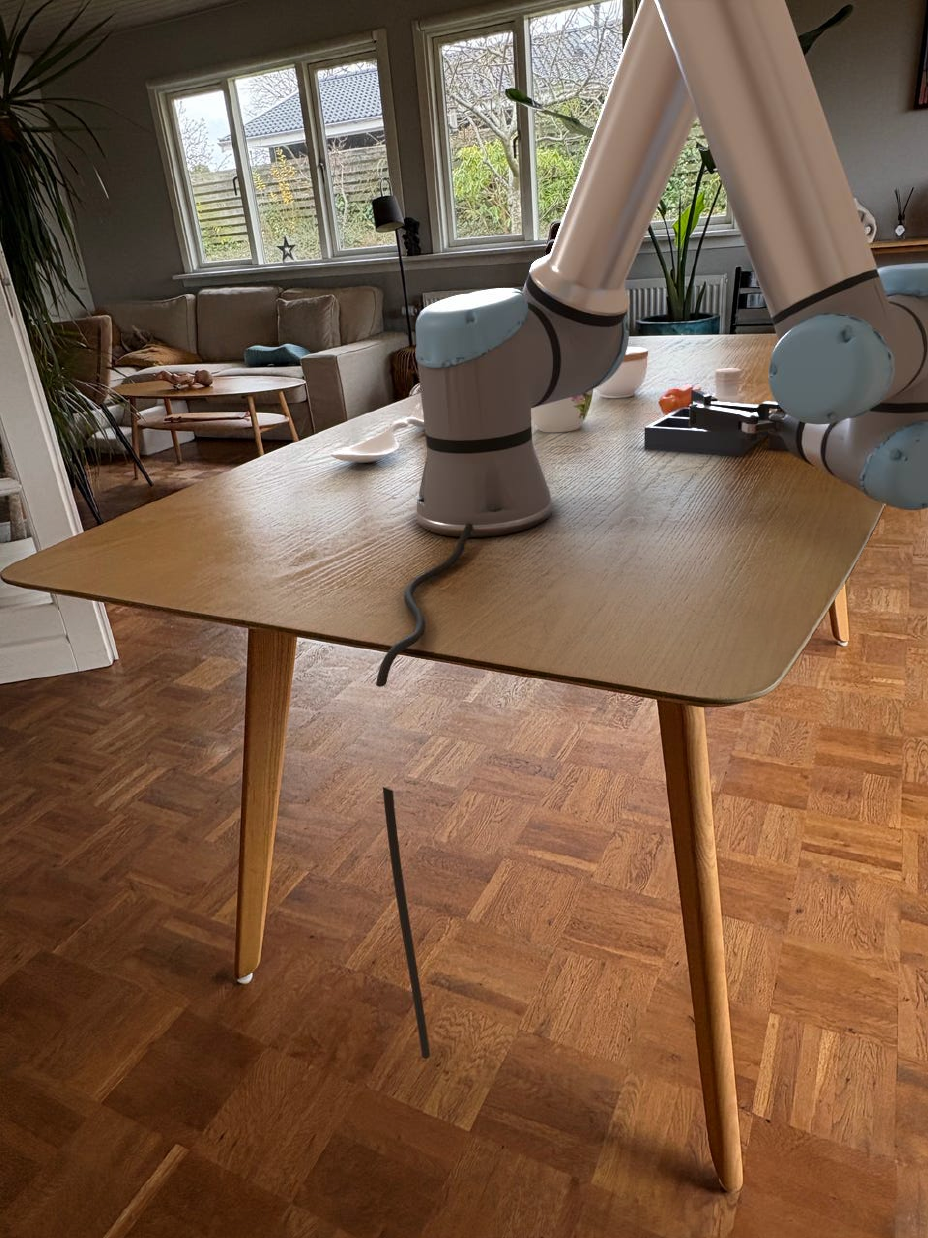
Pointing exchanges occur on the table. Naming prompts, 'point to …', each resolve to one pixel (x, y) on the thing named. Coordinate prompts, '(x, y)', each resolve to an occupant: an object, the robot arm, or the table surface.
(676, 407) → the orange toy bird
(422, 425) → the spoon
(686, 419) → the rack
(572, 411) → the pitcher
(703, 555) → the table surface
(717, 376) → the pepper shaker
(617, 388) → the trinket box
